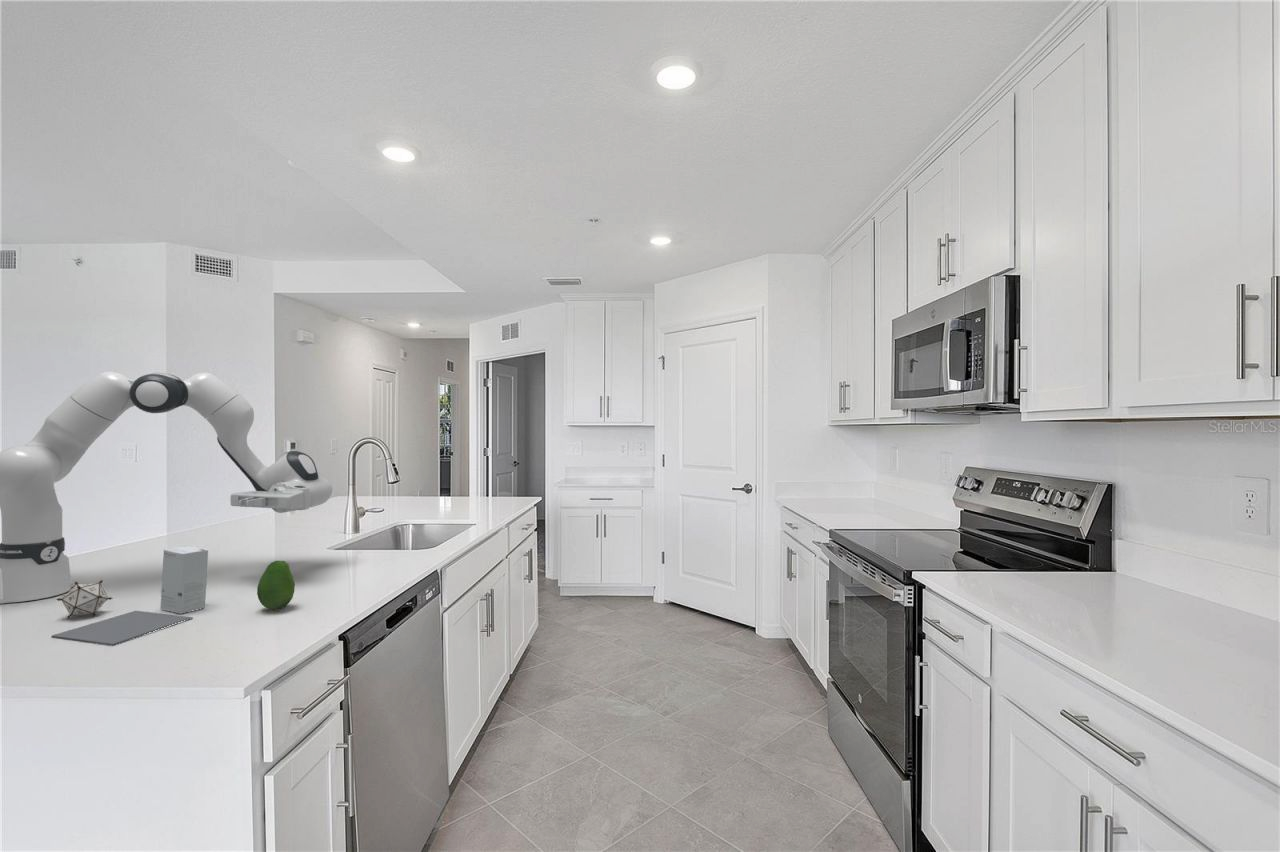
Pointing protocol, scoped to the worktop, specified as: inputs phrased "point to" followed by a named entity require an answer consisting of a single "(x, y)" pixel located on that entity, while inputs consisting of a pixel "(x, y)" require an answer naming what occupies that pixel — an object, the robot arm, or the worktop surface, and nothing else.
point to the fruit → (276, 586)
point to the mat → (121, 628)
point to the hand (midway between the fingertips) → (243, 503)
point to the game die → (84, 599)
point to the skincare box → (184, 579)
